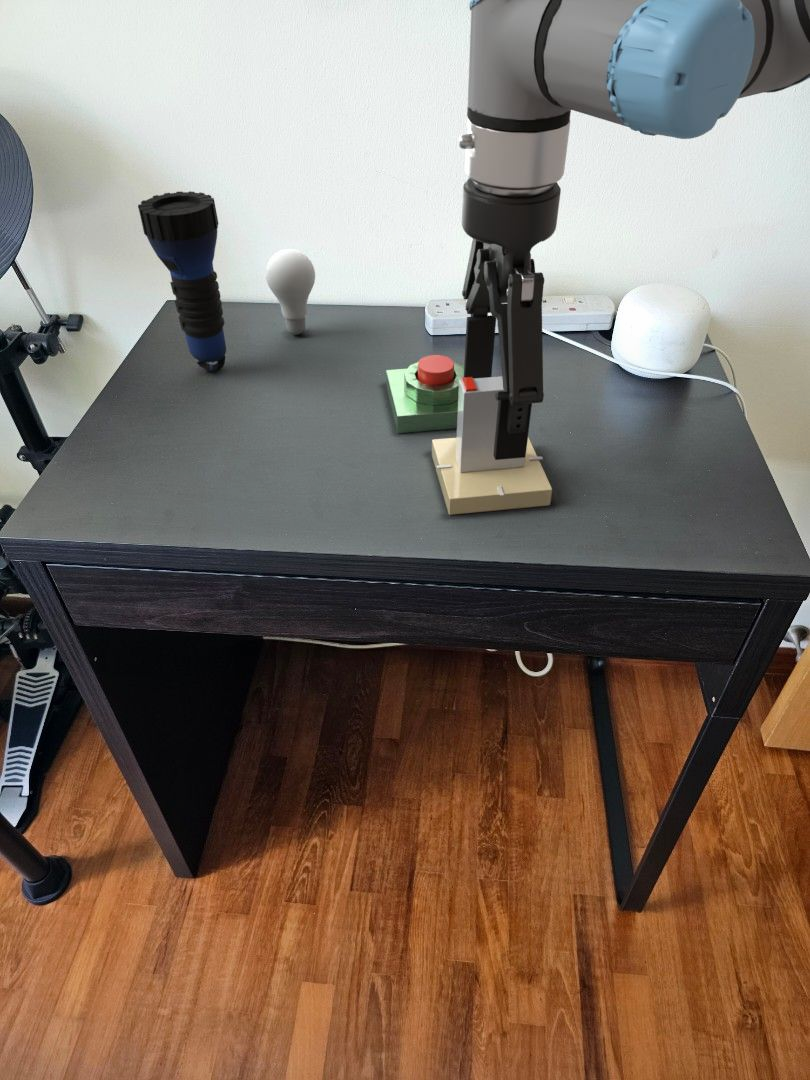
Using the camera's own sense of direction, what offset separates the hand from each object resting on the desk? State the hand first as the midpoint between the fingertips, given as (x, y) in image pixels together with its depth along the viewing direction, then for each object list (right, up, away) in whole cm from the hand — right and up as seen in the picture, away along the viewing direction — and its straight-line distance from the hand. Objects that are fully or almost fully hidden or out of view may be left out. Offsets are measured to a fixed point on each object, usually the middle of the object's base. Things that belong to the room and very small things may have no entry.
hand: (492, 414), depth 75 cm
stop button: (-5, +6, +13) cm, 15 cm away
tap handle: (0, -4, +4) cm, 5 cm away
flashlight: (-32, +9, +22) cm, 40 cm away
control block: (-5, +3, +15) cm, 16 cm away
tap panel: (0, -6, +5) cm, 8 cm away
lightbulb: (-23, +15, +29) cm, 40 cm away
